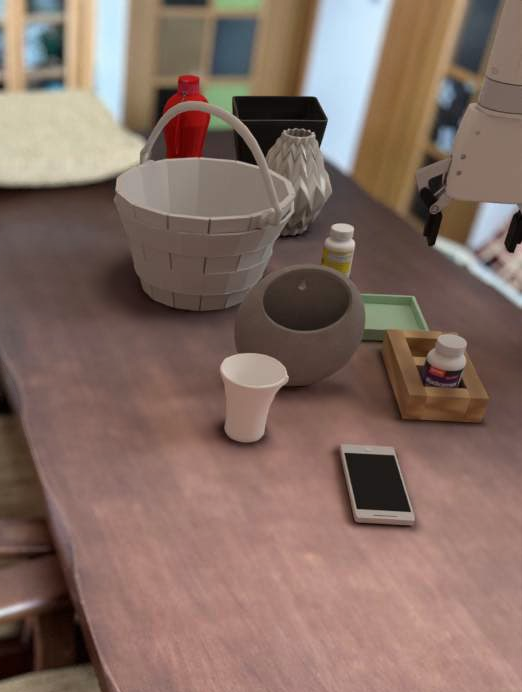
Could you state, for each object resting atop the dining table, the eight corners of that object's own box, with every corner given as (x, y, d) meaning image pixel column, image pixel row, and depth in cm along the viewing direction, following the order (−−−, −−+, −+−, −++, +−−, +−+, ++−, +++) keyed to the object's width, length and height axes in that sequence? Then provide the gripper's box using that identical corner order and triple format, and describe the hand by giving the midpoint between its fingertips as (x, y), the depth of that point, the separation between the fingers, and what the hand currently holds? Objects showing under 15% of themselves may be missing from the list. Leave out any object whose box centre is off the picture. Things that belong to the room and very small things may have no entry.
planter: (229, 395, 122) (243, 273, 109) (226, 370, 127) (240, 252, 114) (354, 399, 121) (383, 278, 109) (347, 374, 126) (374, 256, 114)
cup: (265, 457, 110) (276, 392, 104) (202, 437, 114) (208, 373, 107) (288, 425, 116) (300, 362, 109) (228, 406, 119) (235, 344, 113)
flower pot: (229, 200, 182) (237, 117, 171) (224, 172, 196) (231, 94, 185) (315, 202, 181) (329, 120, 170) (304, 174, 196) (316, 96, 184)
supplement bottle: (324, 271, 155) (333, 219, 148) (351, 278, 153) (363, 225, 146) (313, 282, 151) (323, 229, 145) (342, 289, 149) (353, 235, 143)
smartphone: (392, 451, 111) (393, 445, 111) (414, 526, 100) (416, 520, 99) (338, 448, 112) (340, 443, 111) (354, 522, 100) (356, 516, 100)
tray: (411, 306, 144) (414, 295, 143) (427, 343, 134) (430, 331, 133) (312, 301, 145) (314, 291, 144) (320, 337, 135) (323, 326, 134)
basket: (198, 235, 167) (211, 69, 147) (328, 299, 146) (364, 115, 126) (72, 272, 153) (68, 94, 133) (196, 348, 132) (213, 150, 112)
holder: (450, 355, 132) (457, 332, 129) (480, 422, 117) (489, 398, 114) (380, 351, 132) (386, 328, 129) (402, 418, 118) (409, 394, 115)
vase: (238, 238, 166) (249, 140, 154) (254, 210, 178) (265, 117, 165) (319, 249, 162) (336, 149, 150) (329, 220, 174) (347, 125, 162)
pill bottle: (415, 407, 120) (433, 347, 113) (414, 388, 124) (431, 329, 117) (453, 412, 119) (473, 352, 112) (451, 393, 123) (471, 334, 116)
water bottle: (151, 210, 177) (156, 80, 160) (168, 194, 184) (175, 68, 168) (191, 217, 174) (201, 86, 157) (207, 200, 182) (218, 73, 165)
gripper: (587, 93, 95) (534, 240, 106) (432, 83, 97) (397, 228, 108) (603, 110, 89) (546, 263, 100) (439, 100, 91) (401, 251, 103)
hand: (469, 245), depth 104 cm, fingers open, 9 cm apart
